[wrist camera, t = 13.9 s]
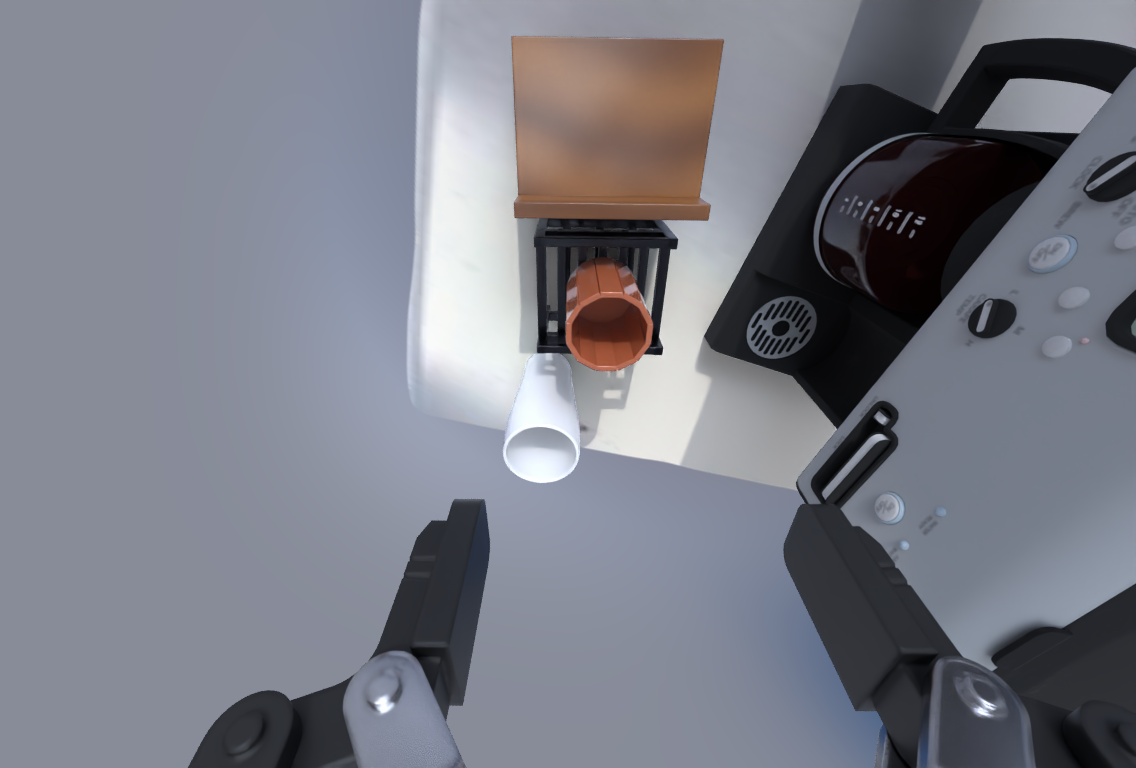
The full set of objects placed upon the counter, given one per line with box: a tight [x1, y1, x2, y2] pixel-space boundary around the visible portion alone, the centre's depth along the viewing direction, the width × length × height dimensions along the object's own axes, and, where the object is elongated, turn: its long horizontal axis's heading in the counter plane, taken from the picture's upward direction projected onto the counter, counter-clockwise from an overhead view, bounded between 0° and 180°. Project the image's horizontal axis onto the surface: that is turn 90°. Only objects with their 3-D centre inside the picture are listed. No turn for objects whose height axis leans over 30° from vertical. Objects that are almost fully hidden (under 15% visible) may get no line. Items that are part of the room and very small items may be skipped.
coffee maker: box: [704, 38, 1136, 714], centre depth 28 cm, size 28×20×35 cm
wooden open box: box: [511, 36, 724, 221], centre depth 32 cm, size 10×13×13 cm
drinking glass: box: [503, 353, 580, 483], centre depth 44 cm, size 7×7×15 cm
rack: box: [534, 218, 678, 355], centre depth 40 cm, size 10×11×10 cm
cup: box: [566, 257, 653, 371], centre depth 34 cm, size 6×6×8 cm
